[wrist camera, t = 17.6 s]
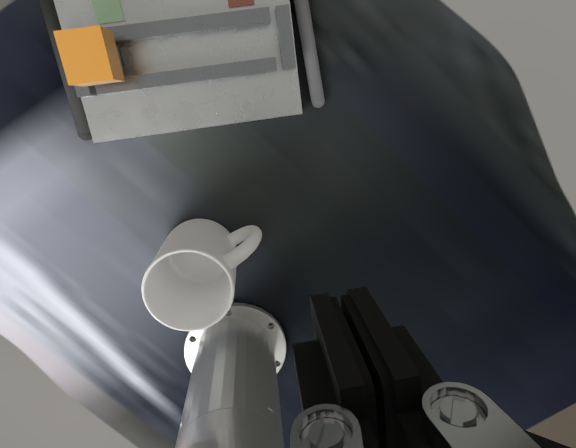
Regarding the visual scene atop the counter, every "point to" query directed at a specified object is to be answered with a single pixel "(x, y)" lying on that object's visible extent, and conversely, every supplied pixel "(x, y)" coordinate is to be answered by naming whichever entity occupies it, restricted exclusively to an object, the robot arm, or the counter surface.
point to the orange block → (89, 56)
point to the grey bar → (73, 100)
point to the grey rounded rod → (309, 52)
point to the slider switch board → (189, 64)
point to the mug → (196, 273)
